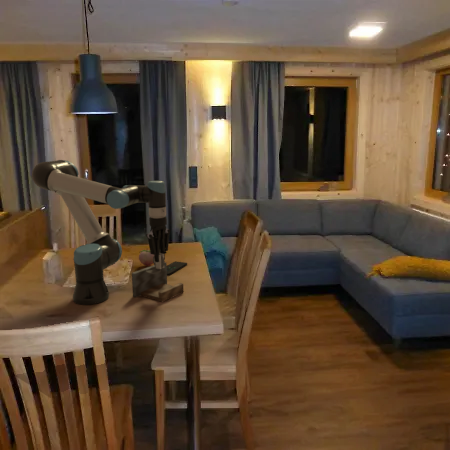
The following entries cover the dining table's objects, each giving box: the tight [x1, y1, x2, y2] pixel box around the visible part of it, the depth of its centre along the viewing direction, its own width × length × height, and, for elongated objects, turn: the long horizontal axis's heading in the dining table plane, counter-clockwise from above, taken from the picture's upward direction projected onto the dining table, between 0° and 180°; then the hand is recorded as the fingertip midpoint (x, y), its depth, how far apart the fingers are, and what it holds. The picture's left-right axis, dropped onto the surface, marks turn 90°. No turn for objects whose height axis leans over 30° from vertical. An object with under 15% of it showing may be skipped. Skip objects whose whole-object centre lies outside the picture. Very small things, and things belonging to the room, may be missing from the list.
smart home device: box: [167, 261, 188, 277], centre depth 223 cm, size 8×2×20 cm
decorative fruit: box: [138, 249, 154, 267], centre depth 227 cm, size 9×8×10 cm
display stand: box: [131, 261, 184, 303], centre depth 188 cm, size 20×15×11 cm
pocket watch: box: [146, 249, 166, 274], centre depth 184 cm, size 8×8×10 cm
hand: (160, 267), depth 187 cm, fingers closed on pocket watch
